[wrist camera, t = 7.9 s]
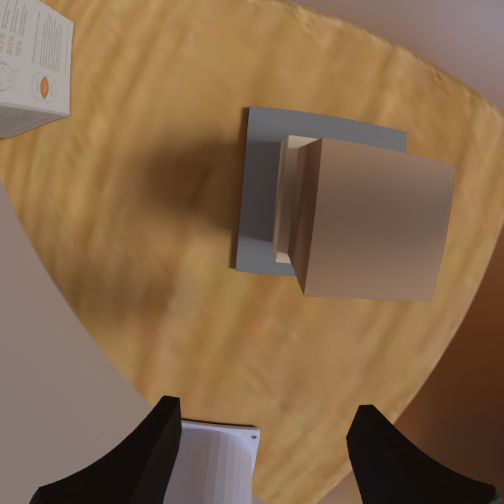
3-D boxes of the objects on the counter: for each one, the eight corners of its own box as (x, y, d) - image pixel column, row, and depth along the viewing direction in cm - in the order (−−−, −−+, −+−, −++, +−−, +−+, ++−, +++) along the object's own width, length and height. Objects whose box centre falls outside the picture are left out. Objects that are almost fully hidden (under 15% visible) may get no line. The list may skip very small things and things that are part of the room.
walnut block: (382, 261, 15) (431, 300, 10) (287, 254, 15) (303, 295, 10) (397, 163, 13) (455, 166, 9) (298, 148, 13) (322, 137, 9)
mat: (383, 280, 20) (385, 282, 19) (235, 269, 20) (235, 271, 19) (404, 133, 17) (406, 132, 17) (249, 107, 17) (249, 106, 17)
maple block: (364, 251, 19) (389, 271, 15) (271, 242, 19) (275, 262, 15) (377, 157, 17) (406, 155, 13) (281, 142, 17) (289, 135, 13)
